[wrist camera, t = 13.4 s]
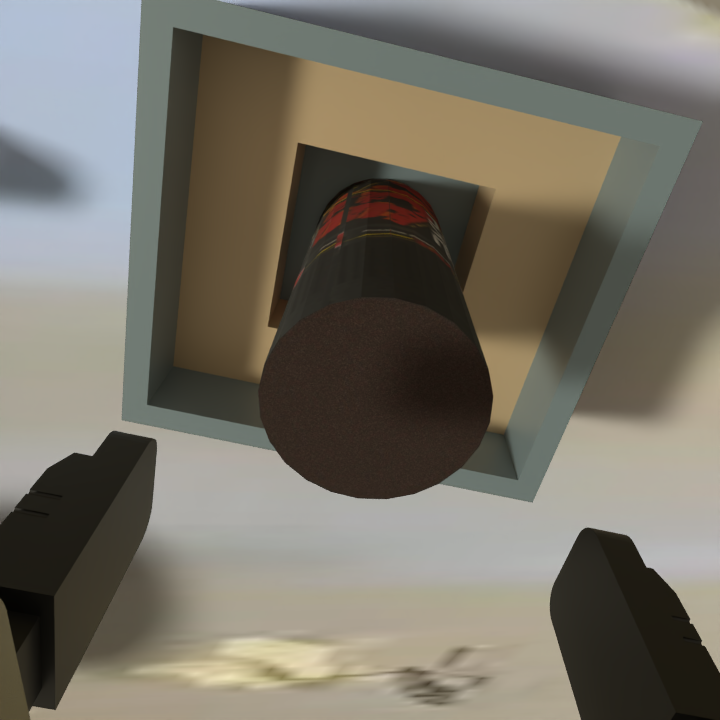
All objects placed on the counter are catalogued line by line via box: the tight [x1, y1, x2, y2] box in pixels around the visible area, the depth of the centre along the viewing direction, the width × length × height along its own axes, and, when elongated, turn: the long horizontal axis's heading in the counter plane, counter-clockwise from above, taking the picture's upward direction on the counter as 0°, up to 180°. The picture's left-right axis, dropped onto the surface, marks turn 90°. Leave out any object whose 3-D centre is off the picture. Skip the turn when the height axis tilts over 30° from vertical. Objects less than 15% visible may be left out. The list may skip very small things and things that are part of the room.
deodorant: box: [258, 179, 493, 499], centre depth 22 cm, size 6×6×15 cm
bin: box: [122, 0, 703, 502], centre depth 26 cm, size 18×16×8 cm
